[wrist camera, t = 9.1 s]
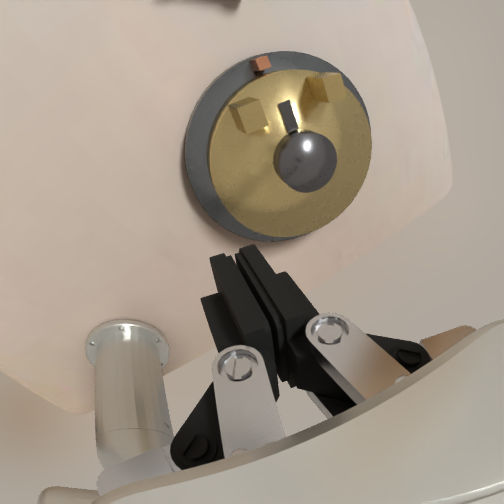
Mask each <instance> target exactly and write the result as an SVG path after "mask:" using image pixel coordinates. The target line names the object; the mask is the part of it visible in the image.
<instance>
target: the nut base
mask: <svg viewBox="0 0 504 504" xmlns="http://www.w3.org/2000/svg"><path fill="white" fill-rule="evenodd" d="M277 70H310V71H315V72H319V73H322V72H333V73H341V76H342V80H343V84H344V86H345V87H347V88H348V89H349V90H350V91H351V92H352V93H353V95H354V96H355V97H356V99H357V100H358V101H359V103H360V104H361V106H362V108H363V110H364V112H365V114H366V117H367V119H368V123H369V127H370V122H369V117H368V113H367V110H366V107H365V105H364V102H363V100H362V98H361V96H360V94H359V93H358V91H357V89H356V88H355V86H354V85H353V84H352V82H351V81H350V80H349V79H348V78H347V77H346V76H345V75H344V74H343V73H342V72H341V71H340V70H338V69H337V68H336V67H334V66H333V65H331V64H330V63H328V62H326V61H324V60H322V59H320V58H318V57H315V56H312V55H309V54H305V53H299V52H289V51H279V52H271V53H264V54H260V55H256V56H253V57H249V58H247V59H245V60H243V61H240V62H238V63H236V64H235V65H233V66H231V67H230V68H228V69H227V70H225V71H224V72H223V73H222V74H220V75H219V76H218V77H217V78H216V79H215V80H214V81H213V82H212V83H211V84H210V85H209V86H208V87H207V89H206V90H205V91H204V92H203V94H202V95H201V97H200V99H199V100H198V102H197V103H196V106H195V108H194V110H193V112H192V114H191V117H190V120H189V123H188V127H187V131H186V137H185V163H186V170H187V174H188V177H189V181H190V183H191V186H192V188H193V190H194V192H195V195H196V197H197V199H198V200H199V202H200V203H201V205H202V207H203V208H204V209H205V211H206V212H207V213H208V214H209V215H210V216H211V217H212V218H213V219H214V220H215V221H216V222H217V223H219V224H220V225H221V226H222V227H224V228H226V229H227V230H229V231H230V232H233V233H235V234H237V235H239V236H242V237H245V238H248V239H252V240H259V241H283V240H289V239H293V238H297V237H300V236H303V235H306V234H308V233H306V234H303V235H298V236H293V237H273V236H268V235H264V234H261V233H258V232H255V231H253V230H251V229H249V228H247V227H245V226H244V225H243V224H241V223H240V222H238V221H237V220H236V219H235V218H234V217H233V216H232V215H231V214H230V213H229V211H228V210H227V209H226V207H225V206H224V205H223V203H222V201H221V200H220V198H219V196H218V195H217V193H216V191H215V189H214V187H213V185H212V182H211V179H210V176H209V172H208V168H207V156H206V154H207V142H208V137H209V132H210V129H211V126H212V124H213V121H214V119H215V117H216V115H217V113H218V111H219V109H220V108H221V107H222V105H223V104H224V102H225V101H226V100H227V99H228V98H229V96H230V95H231V94H232V93H233V92H234V91H235V90H237V89H238V88H239V87H240V86H242V85H243V84H244V83H246V82H248V81H249V80H251V79H253V78H255V77H257V76H259V75H262V74H264V73H268V72H272V71H277ZM370 132H371V128H370ZM309 233H310V232H309Z"/></svg>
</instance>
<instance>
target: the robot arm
mask: <svg viewBox="0 0 504 504" xmlns="http://www.w3.org/2000/svg"><path fill="white" fill-rule="evenodd" d="M235 259H236V263H235V261H234V260H233V258H232V256H231V255H230V256H227V257H226V255H225V254H224V253H223V254H219V255H216V256H213V257H210V263H211V267H212V271H213V275H214V279H215V283H216V287H217V290H218V293H216V294H212V295H209V296H206V297H203V298H200V299H201V302H202V306H203V309H204V312H205V315H206V318H207V321H208V324H209V327H210V330H211V333H212V336H213V339H214V342H215V345H216V347H217V350H218V353H219V354H218V355H217V356H216V357H215V359H214V361H213V364H212V375H213V382H212V383H211V385H210V386H209V388H208V389H207V391H206V392H205V394H204V395H203V397H202V398H201V400H200V401H199V403H198V404H197V405H196V407H195V408H194V410H193V411H192V413H191V414H190V415H189V417H188V418H187V420H186V421H185V423H184V424H183V426H182V427H181V428H180V430H179V431H178V433H177V434H176V436H175V437H174V435H173V430H172V426H171V421H170V416H169V410H168V405H167V400H166V394H165V389H164V383H163V376H162V370H161V369H162V368H163V367H164V366H165V364H166V363H167V361H168V358H169V346H168V343H167V340H166V339H165V337H164V336H163V334H162V333H160V332H159V331H158V330H157V329H155V328H154V327H152V326H150V325H148V324H145V323H142V322H138V321H133V320H116V321H110V322H107V323H104V324H102V325H100V326H98V327H96V328H95V329H94V330H93V331H92V332H91V333H90V335H89V336H88V338H87V341H86V355H87V358H88V360H89V361H90V363H91V364H92V365H93V366H94V367H95V430H96V447H97V455H98V458H99V461H100V463H101V465H102V467H103V468H104V470H103V471H102V472H101V474H100V475H99V477H98V480H97V489H98V491H97V490H87V489H78V488H69V487H59V486H55V487H48V488H46V489H44V490H43V491H42V492H41V493H40V495H39V498H38V503H37V504H504V320H499V321H495V322H492V323H490V324H487V325H485V326H483V327H481V328H479V329H478V330H476V329H475V328H472V327H471V326H460V327H457V328H454V329H451V330H448V331H446V332H443V333H440V334H437V335H434V336H431V337H428V338H425V339H422V340H421V341H420V343H419V344H417V343H414V342H411V341H405V340H399V339H393V338H388V337H382V336H376V335H371V334H365V333H364V332H363V331H362V330H360V329H359V328H358V327H357V326H356V325H355V324H354V323H352V322H351V321H350V320H349V319H348V318H346V317H344V316H343V315H340V314H337V313H324V314H319V313H318V312H317V310H316V309H315V308H314V307H313V305H312V304H311V303H310V301H309V300H308V299H307V297H306V296H305V295H304V294H303V292H302V291H301V290H300V288H299V287H298V286H297V285H296V283H295V282H294V281H293V279H292V278H291V277H290V276H289V274H288V273H287V272H281V273H278V274H276V273H275V272H274V271H273V269H272V268H271V266H270V265H269V264H268V262H267V261H266V260H265V258H264V257H263V255H262V254H261V253H260V251H259V250H258V248H257V247H256V246H255V245H254V244H253V245H250V246H246V247H243V248H240V249H239V253H237V254H235ZM236 264H237V265H236ZM277 374H278V376H279V378H280V380H281V381H282V382H284V381H288V383H289V385H290V387H291V388H293V387H295V386H297V388H298V389H302V390H306V392H307V394H308V395H309V397H310V398H311V400H312V401H313V402H314V403H315V404H316V405H317V407H318V408H319V409H320V410H321V412H322V413H323V414H324V415H325V416H326V417H327V419H328V420H325V421H323V422H321V423H319V424H317V425H314V426H312V427H310V428H307V429H305V430H303V431H301V432H298V433H296V434H293V435H291V436H288V437H285V434H284V431H283V427H282V423H281V420H280V416H279V413H278V410H277V406H276V401H277V400H278V398H279V388H278V378H277Z"/></svg>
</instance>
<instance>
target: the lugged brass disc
mask: <svg viewBox="0 0 504 504" xmlns="http://www.w3.org/2000/svg"><path fill="white" fill-rule="evenodd" d="M371 150H372V143H371V132H370V127H369V123H368V119H367V117H366V114H365V112H364V110H363V108H362V106H361V104H360V103H359V101H358V100H357V99H356V97H355V96H354V95H353V93H352V92H351V91H350V90H349V89H348V88H347V87H345V86H344V84H343V80H342V76H341V73H333V72H322V73H319V72H315V71H310V70H277V71H272V72H268V73H264V74H262V75H259V76H257V77H255V78H253V79H251V80H249V81H248V82H246V83H244V84H243V85H242V86H240V87H239V88H238V89H237V90H235V91H234V92H233V93H232V94H231V95H230V96H229V98H228V99H227V100H226V101H225V102H224V104H223V105H222V107H221V108H220V109H219V111H218V113H217V115H216V117H215V119H214V121H213V124H212V126H211V129H210V132H209V137H208V142H207V154H206V156H207V168H208V172H209V176H210V179H211V182H212V185H213V187H214V189H215V191H216V193H217V195H218V196H219V198H220V200H221V201H222V203H223V205H224V206H225V207H226V209H227V210H228V211H229V213H230V214H231V215H232V216H233V217H234V218H235V219H236V220H237V221H238V222H240V223H241V224H243V225H244V226H245V227H247V228H249V229H251V230H253V231H255V232H258V233H261V234H264V235H268V236H273V237H293V236H298V235H303V234H306V233H309V232H312V231H315V230H317V229H319V228H321V227H323V226H325V225H326V224H328V223H330V222H331V221H332V220H334V219H335V218H336V217H338V216H339V215H340V214H341V213H342V212H343V211H344V210H345V209H346V208H347V207H348V206H349V205H350V203H351V202H352V201H353V199H354V198H355V197H356V195H357V193H358V192H359V190H360V188H361V186H362V184H363V182H364V180H365V178H366V175H367V172H368V168H369V164H370V159H371Z"/></svg>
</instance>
